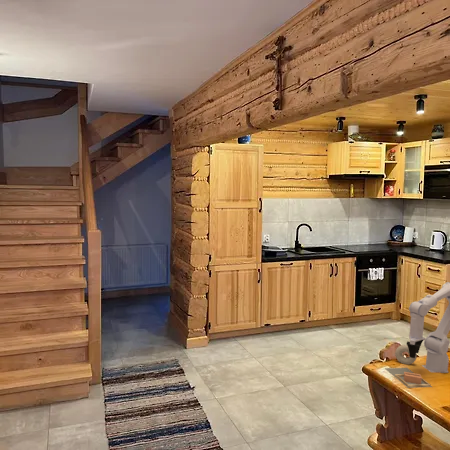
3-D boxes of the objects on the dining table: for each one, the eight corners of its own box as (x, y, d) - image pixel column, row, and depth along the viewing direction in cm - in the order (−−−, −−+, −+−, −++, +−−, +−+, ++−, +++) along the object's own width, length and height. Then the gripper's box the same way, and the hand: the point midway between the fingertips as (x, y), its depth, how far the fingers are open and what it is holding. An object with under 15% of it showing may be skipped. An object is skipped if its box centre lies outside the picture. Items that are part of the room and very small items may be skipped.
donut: (415, 365, 219) (417, 345, 218) (415, 367, 216) (417, 348, 215) (394, 360, 223) (396, 342, 222) (394, 363, 220) (395, 344, 219)
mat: (406, 369, 213) (407, 367, 213) (432, 388, 194) (432, 386, 194) (384, 369, 211) (384, 368, 211) (407, 389, 192) (407, 387, 192)
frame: (416, 375, 205) (416, 373, 205) (430, 386, 194) (430, 384, 194) (394, 376, 203) (394, 374, 203) (408, 387, 193) (408, 385, 192)
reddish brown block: (404, 381, 198) (405, 374, 198) (403, 377, 202) (404, 371, 201) (421, 384, 196) (421, 377, 196) (419, 380, 200) (420, 374, 199)
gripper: (422, 333, 197) (419, 362, 199) (428, 325, 209) (426, 352, 211) (406, 329, 201) (403, 357, 203) (413, 322, 213) (410, 349, 215)
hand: (414, 355), depth 207 cm, fingers open, 7 cm apart
